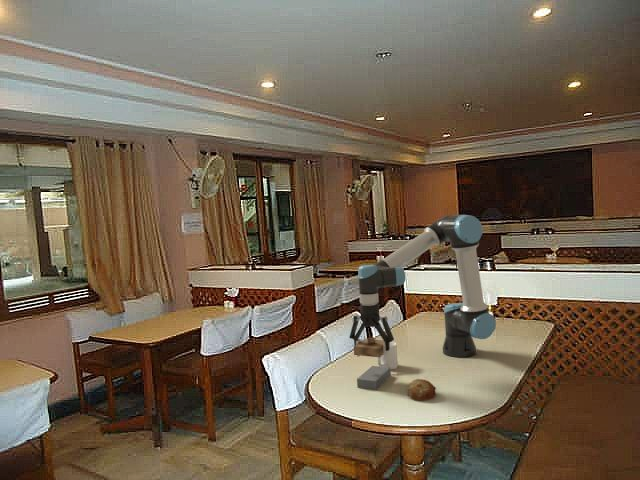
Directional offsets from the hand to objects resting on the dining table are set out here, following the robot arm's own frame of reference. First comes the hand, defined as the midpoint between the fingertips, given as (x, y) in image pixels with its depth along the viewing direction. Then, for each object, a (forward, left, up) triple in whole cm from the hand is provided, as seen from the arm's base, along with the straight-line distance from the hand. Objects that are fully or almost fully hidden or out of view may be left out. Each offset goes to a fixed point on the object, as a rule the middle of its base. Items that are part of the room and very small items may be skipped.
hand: (372, 357), depth 191 cm
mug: (+1, -16, -10) cm, 19 cm away
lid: (0, 0, +2) cm, 2 cm away
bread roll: (-22, +7, -11) cm, 26 cm away
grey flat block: (0, 0, -10) cm, 10 cm away
